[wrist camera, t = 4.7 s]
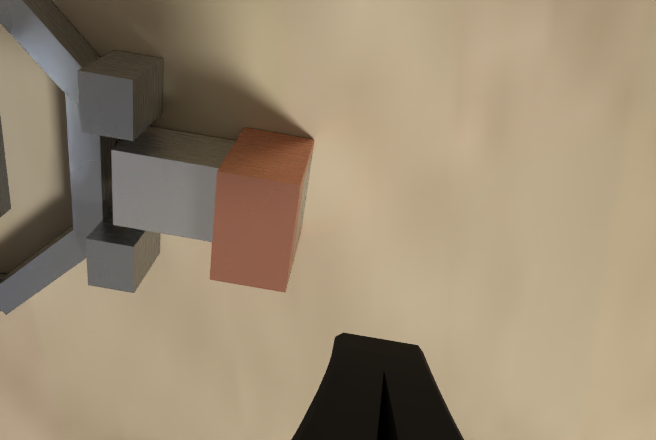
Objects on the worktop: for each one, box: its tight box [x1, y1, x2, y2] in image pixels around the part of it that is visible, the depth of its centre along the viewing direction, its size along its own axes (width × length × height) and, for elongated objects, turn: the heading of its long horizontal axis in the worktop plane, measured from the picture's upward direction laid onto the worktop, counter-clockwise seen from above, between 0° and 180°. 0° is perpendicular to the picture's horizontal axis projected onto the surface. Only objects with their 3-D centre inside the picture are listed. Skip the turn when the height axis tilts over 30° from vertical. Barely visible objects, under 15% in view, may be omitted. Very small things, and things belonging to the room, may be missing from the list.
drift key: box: [111, 126, 314, 292], centre depth 15 cm, size 3×4×3 cm, turn 81°
